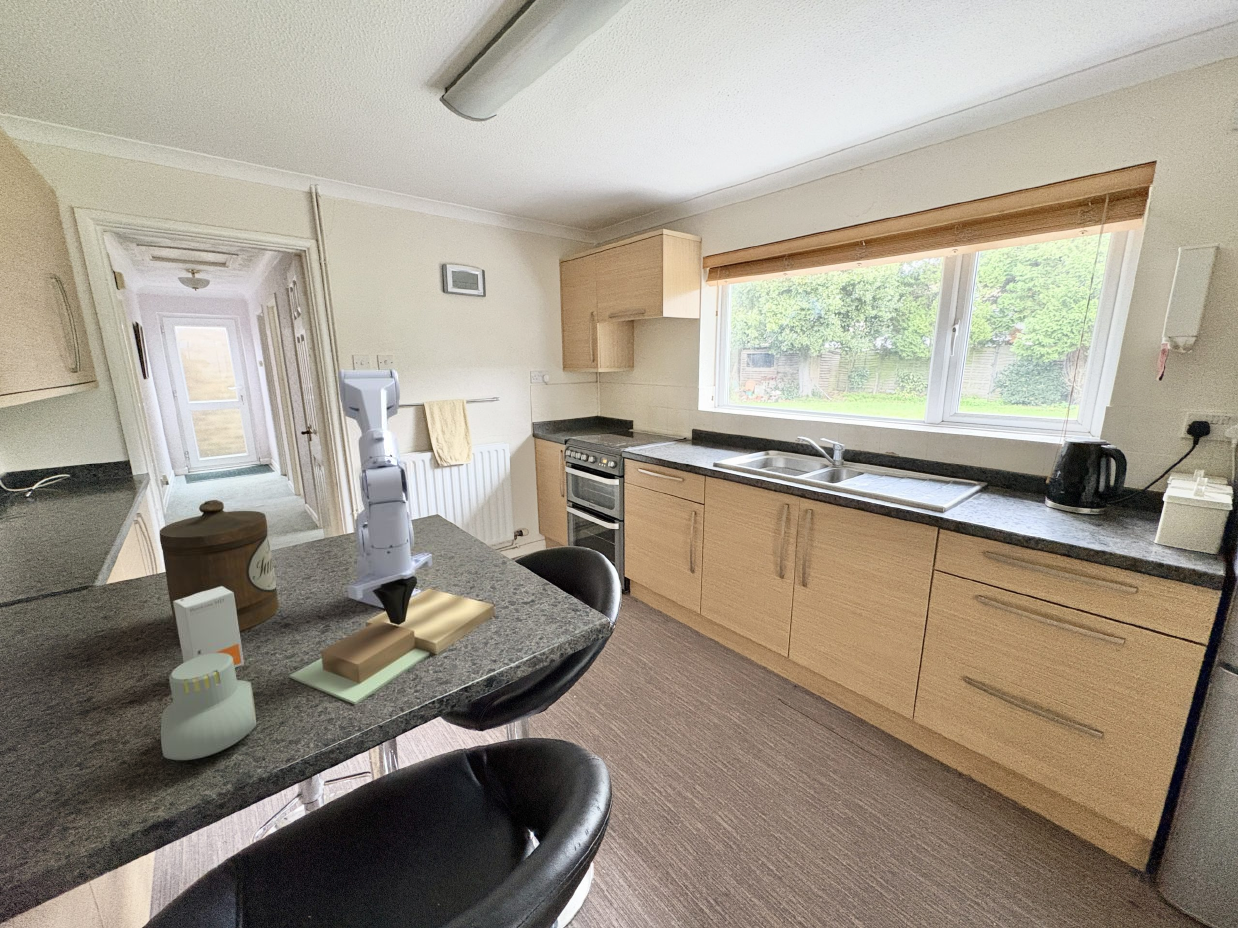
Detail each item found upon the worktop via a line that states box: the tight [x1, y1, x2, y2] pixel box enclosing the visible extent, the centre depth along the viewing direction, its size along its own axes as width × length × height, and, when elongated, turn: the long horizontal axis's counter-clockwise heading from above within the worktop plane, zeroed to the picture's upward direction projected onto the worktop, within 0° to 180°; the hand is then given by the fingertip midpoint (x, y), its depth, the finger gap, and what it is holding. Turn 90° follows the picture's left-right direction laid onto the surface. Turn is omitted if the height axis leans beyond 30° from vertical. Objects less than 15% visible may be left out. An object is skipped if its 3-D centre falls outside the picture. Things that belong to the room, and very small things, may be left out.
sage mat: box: [289, 648, 431, 706], centre depth 75 cm, size 14×13×1 cm
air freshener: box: [160, 653, 257, 761], centre depth 60 cm, size 11×8×10 cm
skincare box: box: [173, 586, 245, 669], centre depth 74 cm, size 6×4×12 cm
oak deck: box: [365, 588, 496, 656], centre depth 88 cm, size 16×14×2 cm
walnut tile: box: [320, 620, 416, 683], centre depth 76 cm, size 8×10×3 cm
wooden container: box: [159, 499, 279, 636], centre depth 88 cm, size 15×15×22 cm
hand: (397, 621), depth 81 cm, fingers closed
